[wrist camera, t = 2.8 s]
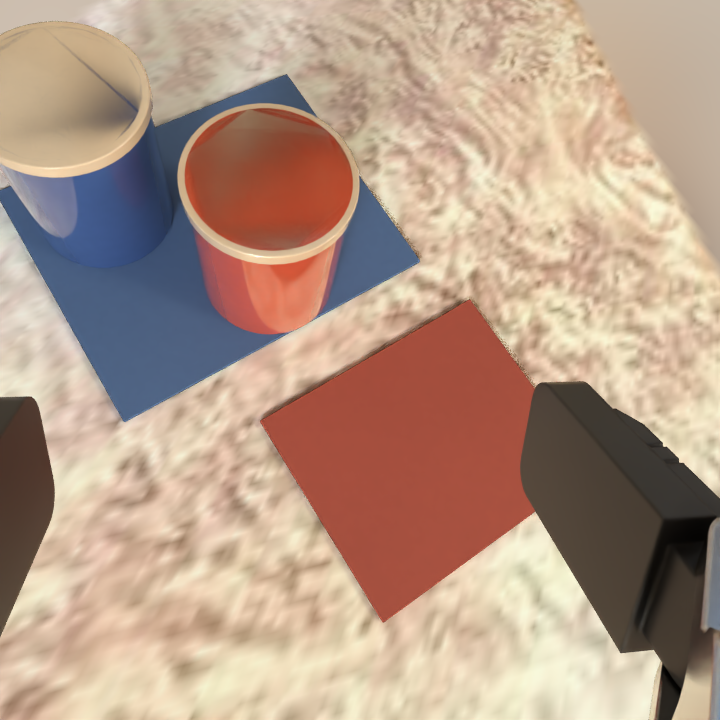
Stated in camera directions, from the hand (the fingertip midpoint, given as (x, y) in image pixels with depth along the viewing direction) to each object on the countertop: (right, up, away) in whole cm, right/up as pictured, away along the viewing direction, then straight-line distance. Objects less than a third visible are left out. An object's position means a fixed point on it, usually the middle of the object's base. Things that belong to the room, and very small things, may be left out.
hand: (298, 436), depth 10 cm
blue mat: (-6, +8, +21) cm, 23 cm away
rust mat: (+4, -3, +19) cm, 19 cm away
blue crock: (-11, +8, +20) cm, 24 cm away
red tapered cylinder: (-3, +5, +20) cm, 21 cm away
